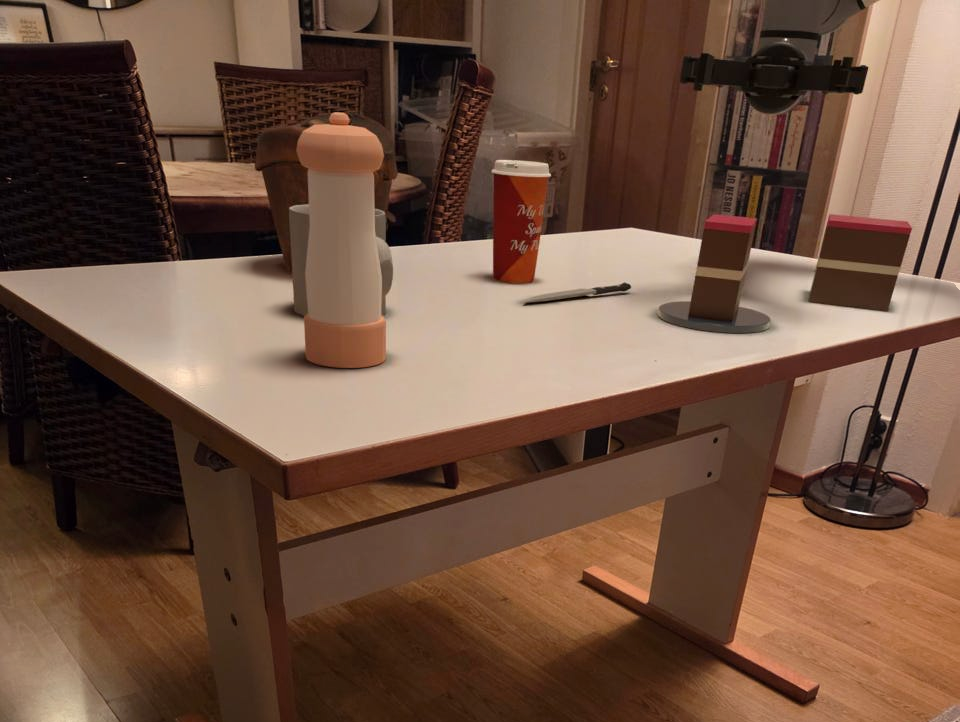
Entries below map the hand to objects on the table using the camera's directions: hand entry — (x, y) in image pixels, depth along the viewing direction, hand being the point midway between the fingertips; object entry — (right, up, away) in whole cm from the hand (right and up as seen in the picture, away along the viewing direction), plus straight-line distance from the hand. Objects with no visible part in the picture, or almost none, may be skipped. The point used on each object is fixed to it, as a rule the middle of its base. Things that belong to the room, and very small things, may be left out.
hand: (767, 71), depth 91 cm
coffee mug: (-45, -25, +3) cm, 51 cm away
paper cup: (-26, -11, +27) cm, 39 cm away
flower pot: (-50, -10, +25) cm, 57 cm away
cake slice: (-3, -21, +11) cm, 24 cm away
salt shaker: (-43, -34, -12) cm, 56 cm away
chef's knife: (-19, -16, +18) cm, 31 cm away
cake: (+20, -14, +27) cm, 36 cm away
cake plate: (-3, -22, +11) cm, 25 cm away
